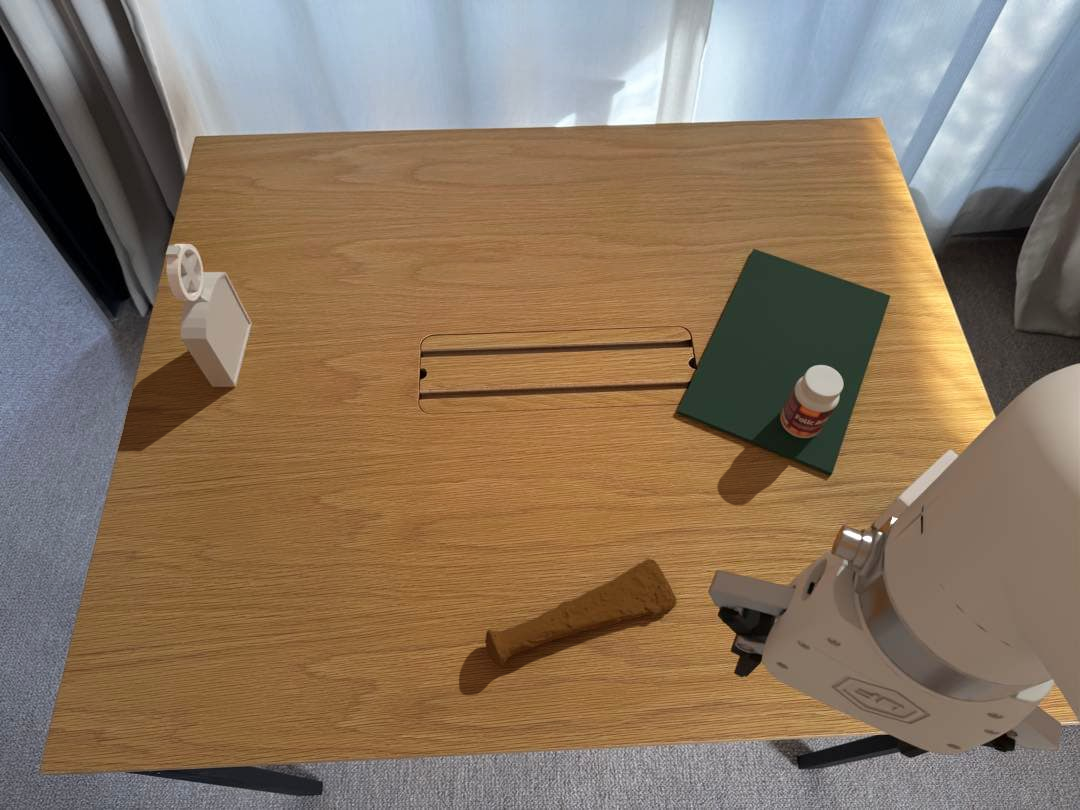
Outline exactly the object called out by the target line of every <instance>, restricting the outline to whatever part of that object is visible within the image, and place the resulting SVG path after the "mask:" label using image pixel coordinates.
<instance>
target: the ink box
mask: <svg viewBox="0 0 1080 810" xmlns="http://www.w3.org/2000/svg"><path fill="white" fill-rule="evenodd" d="M959 455H960V454H959V453H957V452H956V451H955V450H953V449H948V450H947V451H946V452H945V453H944V454H942V455H941V456H940V457H939V458H938V459H937V460H935V462H933V463H932V464H931V465H929V467H928V468H927V469H926V470H925V471H923V473H921V474H920V475H919V476H918V477H917V478H916V479H915V480H914V481H913V482H912V483H910V485H909V486H907V488H906V489H904V491H903V492H901V493H900V494H899V496H897V497H896V498H895V499H894V500H893V501H892V503H891V504H890V505H889V506H888V507H887V508H886V509H884V511H883V512H882V513H881V514H880V515H879V516H878V517H877V518H876V519H875V521H874V522H872V523H871V524H870V525H869V527H868V528H867V529H865V530H866V531H869V532H871V530H872V529H875V530H877V531H878V530H879V529H880V528H881V527H882V526H883V525H884V524H885V523H886V521H887V520H888V519H889V518H890V517H891V516H894V517H897V518H898V517H899V516H900V515H901V514H902V513H903V512H904V511H905V510H906V509H907V508H908V507H909V506H910V505H911V504H912V503H913V502H914V501H915V500H916V499H917V498H918V497H919V496H920V495H921V494H922V493H923V492H924V491H925V490H926V489H927V488H928V487H929V486H930V485H931V484H932V483H933V482H934V481H935V480H936V479H937V478H938V477H939V476H940V474H941V473H942V472H943V471H944V470H945V469H946V468H947V467H948V466H949V465H950V464H951V463H952V462H953V461H954V460H955V459H956V458H957V457H958V456H959Z"/></svg>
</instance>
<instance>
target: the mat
mask: <svg viewBox="0 0 1080 810" xmlns="http://www.w3.org/2000/svg"><path fill="white" fill-rule="evenodd" d="M890 299H891V295H890V294H886V293H884V292H882V291H878V290H875V289H872V288H869V287H867V286H865V285H861V284H858V283H855V282H853V281H849V280H846V279H844V278H841V277H837V276H835V275H833V274H829V273H826V272H823V271H820V270H817V269H814V268H811V267H809V266H805V265H803V264H799V263H796V262H793V261H791V260H788V259H786V258H782V257H780V256H776V255H773V254H770V253H768V252H764V251H762V250H759V249H756V248H753V249H752V251H751V254H750V255H749V257H748V260H747V262H746V264H745V266H744V268H743V271H742V273H741V274H740V277H739V279H738V281H737V283H736V285H735V288H734V289H733V292H732V293H731V296H730V298H729V301H728V302H727V304H726V306H725V308H724V311H723V312H722V315H721V317H720V319H719V322H718V323H717V326H716V328H715V330H714V332H713V334H712V336H711V338H710V341H709V343H708V345H707V347H706V349H705V351H704V354H703V355H702V358H701V360H700V361H699V364H698V366H697V369H696V370H695V372H694V375H693V377H692V379H691V381H690V383H689V385H688V387H687V390H686V392H685V394H684V396H683V398H682V401H681V402H680V405H679V406H678V409H677V411H676V414H678V415H679V416H682V417H684V418H687V419H690V420H691V421H694V422H698V423H699V424H702V425H705V426H707V427H709V428H712V429H714V430H716V431H719V432H722V433H724V434H726V435H730V436H732V437H734V438H737V439H739V440H742V441H744V442H746V443H749V444H752V445H754V446H756V447H759V448H761V449H764V450H767V451H768V452H771V453H773V454H776V455H779V456H780V457H783V458H786V459H788V460H791V461H793V462H795V463H798V464H800V465H804V466H806V467H808V468H810V469H813V470H815V471H818V472H821V473H823V474H825V475H827V476H832V474H833V473H834V470H835V467H836V464H837V461H838V458H839V455H840V451H841V448H842V446H843V442H844V439H845V436H846V433H847V429H848V427H849V424H850V421H851V417H852V414H853V412H854V409H855V406H856V402H857V399H858V396H859V394H860V390H861V388H862V385H863V381H864V379H865V375H866V373H867V369H868V366H869V362H870V360H871V357H872V354H873V351H874V348H875V344H876V341H877V338H878V336H879V332H880V329H881V326H882V323H883V320H884V317H885V314H886V312H887V308H888V305H889V302H890ZM816 365H825V366H829V367H831V368H833V369H835V370H836V371H837V372H838V373H839V374H840V375H841V377H842V379H843V389H842V391H841V393H840V394H839V395H840V396H839V402H838V404H837V406H836V407H835V409H834V410H833V412H832V414H831V415H830V417H829V418H828V420H827V421H826V423H825V424H824V426H823V427H822V429H821V430H820V432H819V433H818V434H817V435H815V436H813V437H811V438H799V437H796V436H793V435H792V434H790V433H789V432H787V431H786V430H785V428H784V427H783V425H782V423H781V418H780V416H781V412H782V409H783V407H784V406H785V404H786V402H787V400H788V398H789V396H790V394H791V392H792V391H793V389H794V387H795V385H796V383H797V381H798V380H799V379H800V378H801V377H803V376H804V375H805V373H806V372H807V370H808V369H809V368H811V367H813V366H816Z"/></svg>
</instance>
